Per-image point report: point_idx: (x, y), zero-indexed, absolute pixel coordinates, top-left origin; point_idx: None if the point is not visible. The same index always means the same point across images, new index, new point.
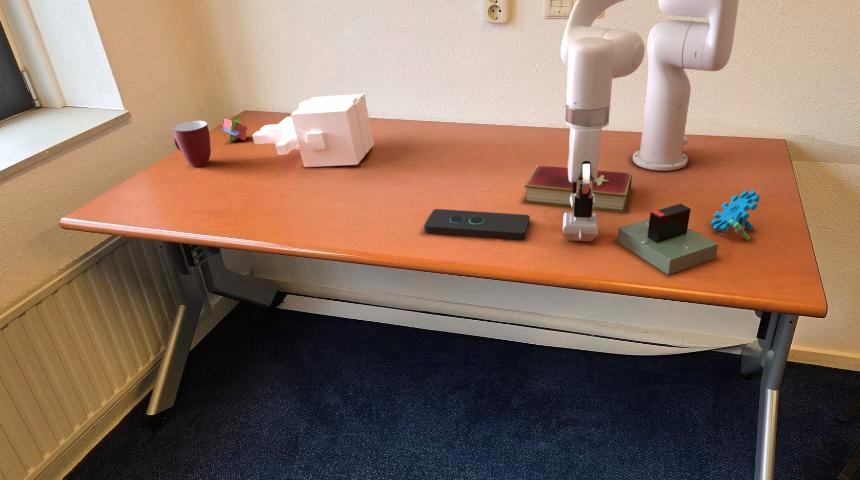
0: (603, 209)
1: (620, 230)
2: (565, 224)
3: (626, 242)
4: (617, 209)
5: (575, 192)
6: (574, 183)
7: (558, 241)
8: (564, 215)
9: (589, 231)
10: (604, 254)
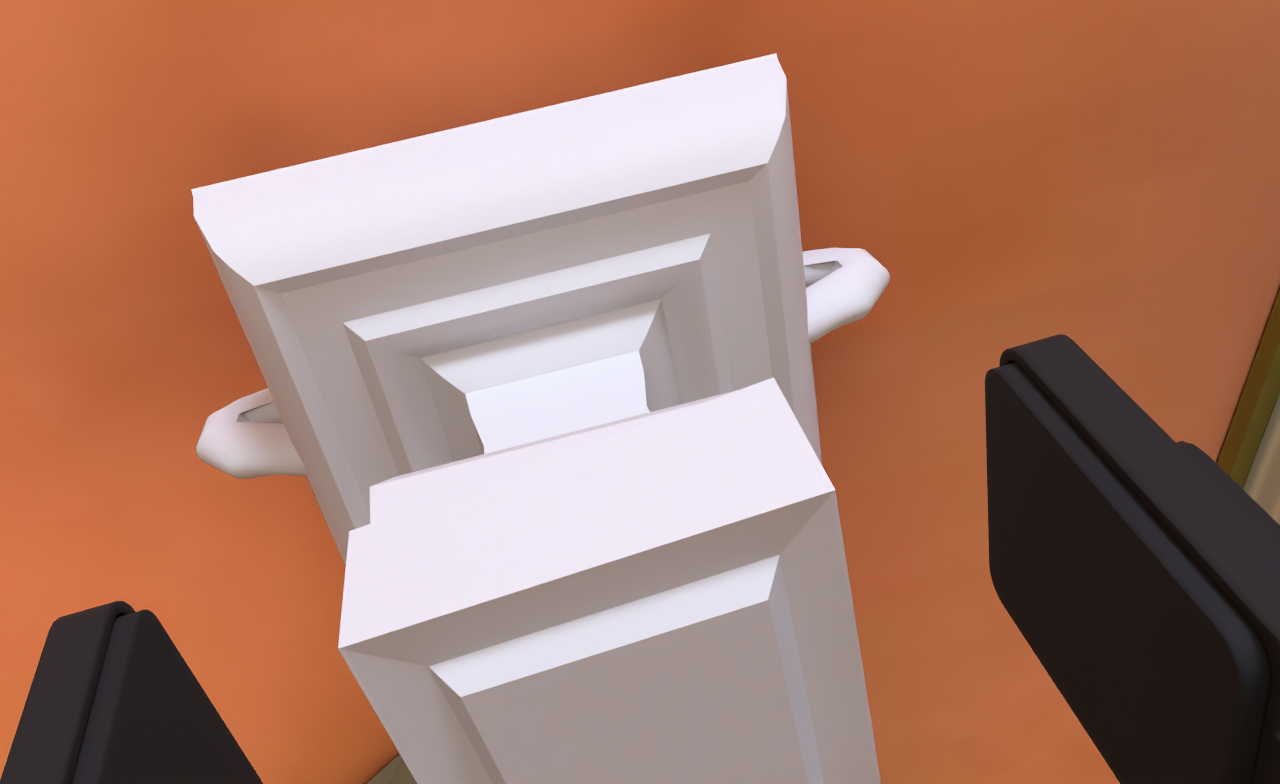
0: (1264, 364)
1: None
2: (294, 256)
3: None
4: None
5: (1036, 457)
6: (1157, 583)
7: (304, 31)
8: (706, 125)
9: (338, 548)
10: (206, 603)
